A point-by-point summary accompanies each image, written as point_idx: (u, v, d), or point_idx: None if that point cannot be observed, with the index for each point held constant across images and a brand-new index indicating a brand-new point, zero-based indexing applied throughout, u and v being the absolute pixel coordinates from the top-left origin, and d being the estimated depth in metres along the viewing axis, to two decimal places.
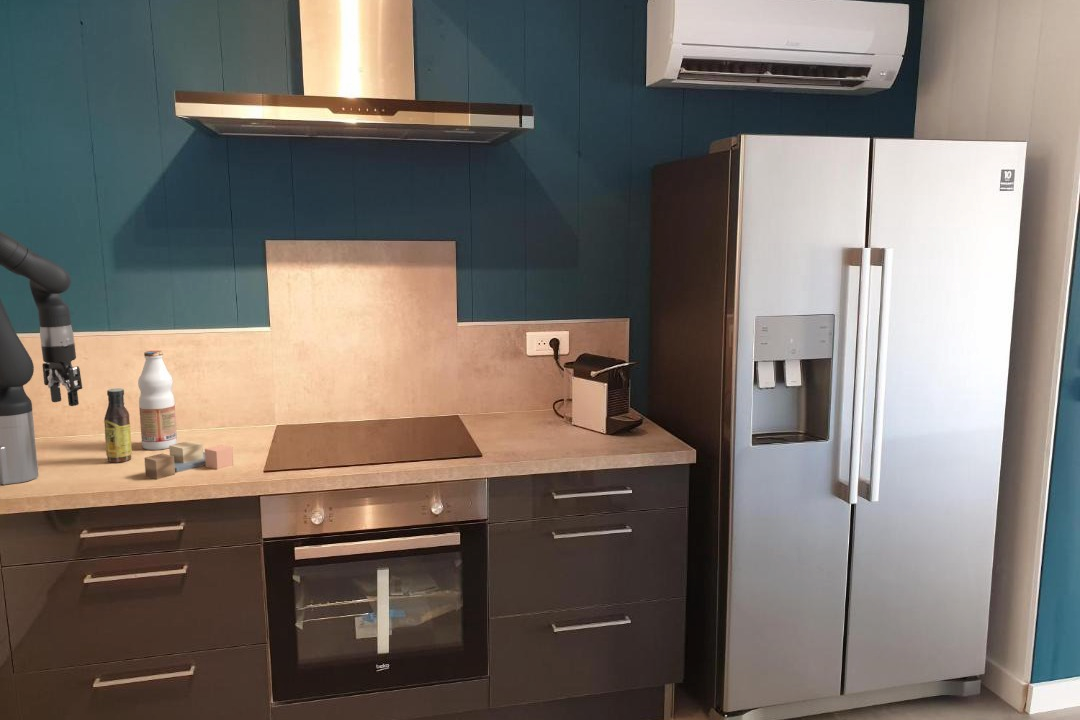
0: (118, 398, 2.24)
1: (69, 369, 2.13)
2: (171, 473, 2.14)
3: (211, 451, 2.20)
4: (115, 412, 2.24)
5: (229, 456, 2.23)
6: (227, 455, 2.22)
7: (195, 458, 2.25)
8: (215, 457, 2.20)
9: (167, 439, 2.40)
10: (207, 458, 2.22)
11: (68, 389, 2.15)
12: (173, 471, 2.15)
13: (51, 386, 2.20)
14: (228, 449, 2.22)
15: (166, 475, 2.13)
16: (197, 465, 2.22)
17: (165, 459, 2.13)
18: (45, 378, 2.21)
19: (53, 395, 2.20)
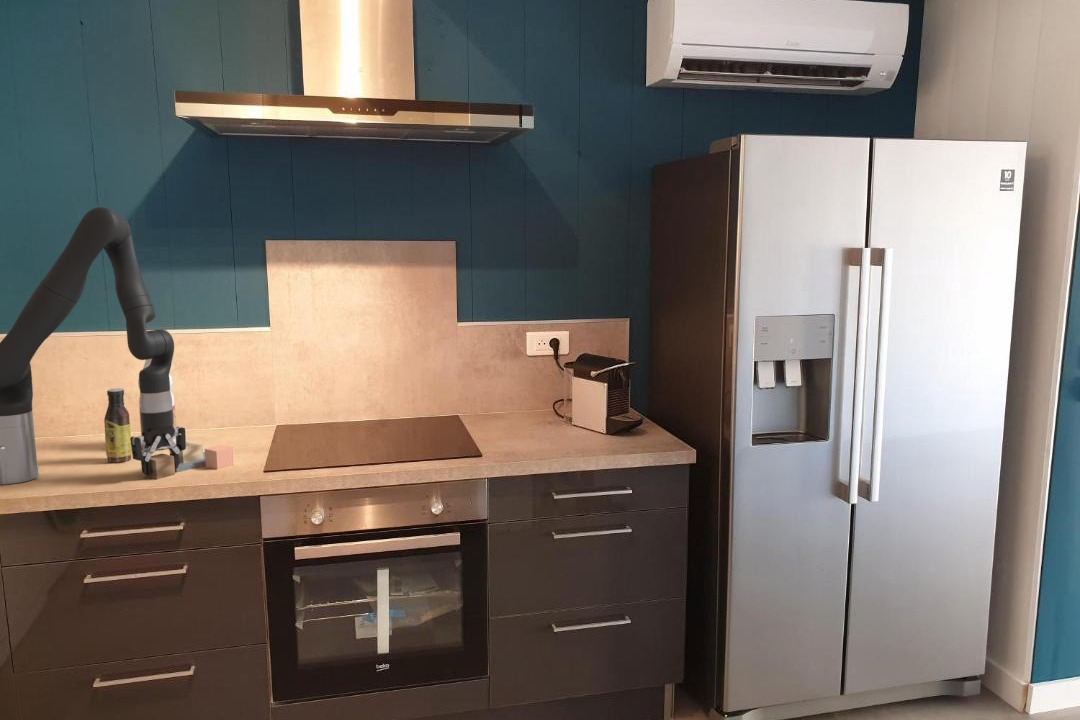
0: (118, 398, 2.24)
1: (184, 429, 2.18)
2: (171, 473, 2.14)
3: (211, 451, 2.20)
4: (115, 412, 2.24)
5: (229, 456, 2.23)
6: (227, 455, 2.22)
7: (195, 458, 2.25)
8: (215, 457, 2.20)
9: None
10: (207, 458, 2.22)
11: (178, 450, 2.17)
12: (173, 471, 2.15)
13: None
14: (228, 449, 2.22)
15: (166, 475, 2.13)
16: (197, 465, 2.22)
17: (165, 459, 2.13)
18: (140, 453, 2.08)
19: None
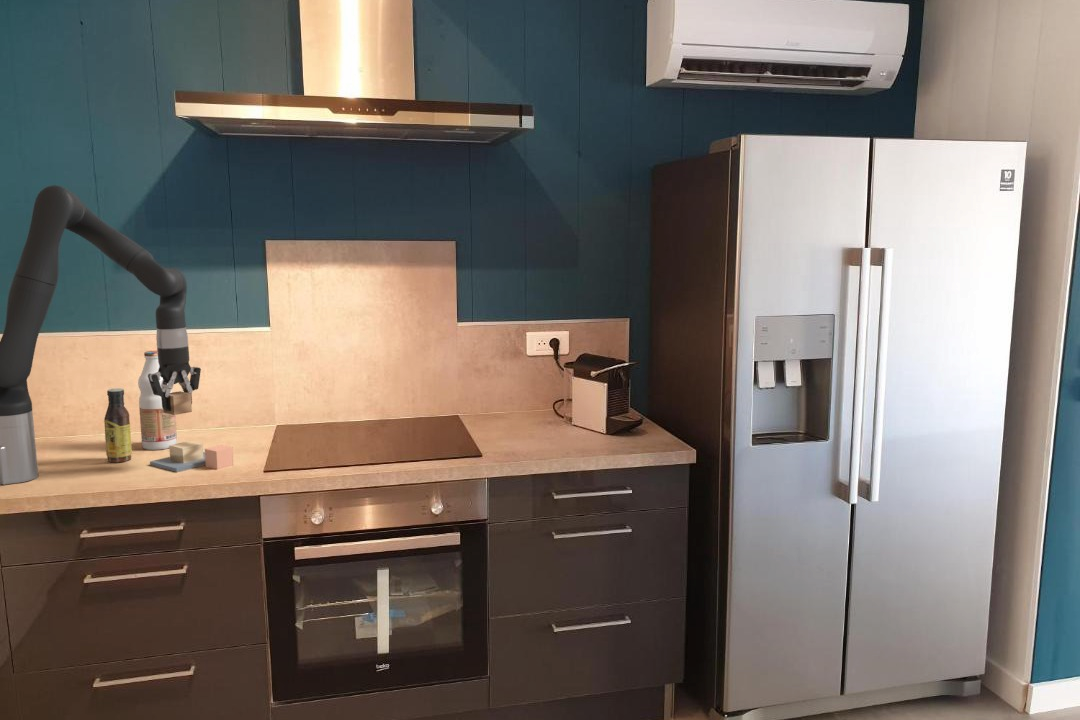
0: (118, 398, 2.24)
1: (199, 369, 2.23)
2: (188, 410, 2.20)
3: (211, 451, 2.20)
4: (115, 412, 2.24)
5: (229, 456, 2.23)
6: (227, 455, 2.22)
7: (195, 458, 2.25)
8: (215, 457, 2.20)
9: (167, 439, 2.40)
10: (207, 458, 2.22)
11: (191, 390, 2.22)
12: (190, 408, 2.20)
13: None
14: (228, 449, 2.22)
15: (183, 412, 2.19)
16: (197, 465, 2.22)
17: (182, 395, 2.18)
18: (159, 388, 2.14)
19: None
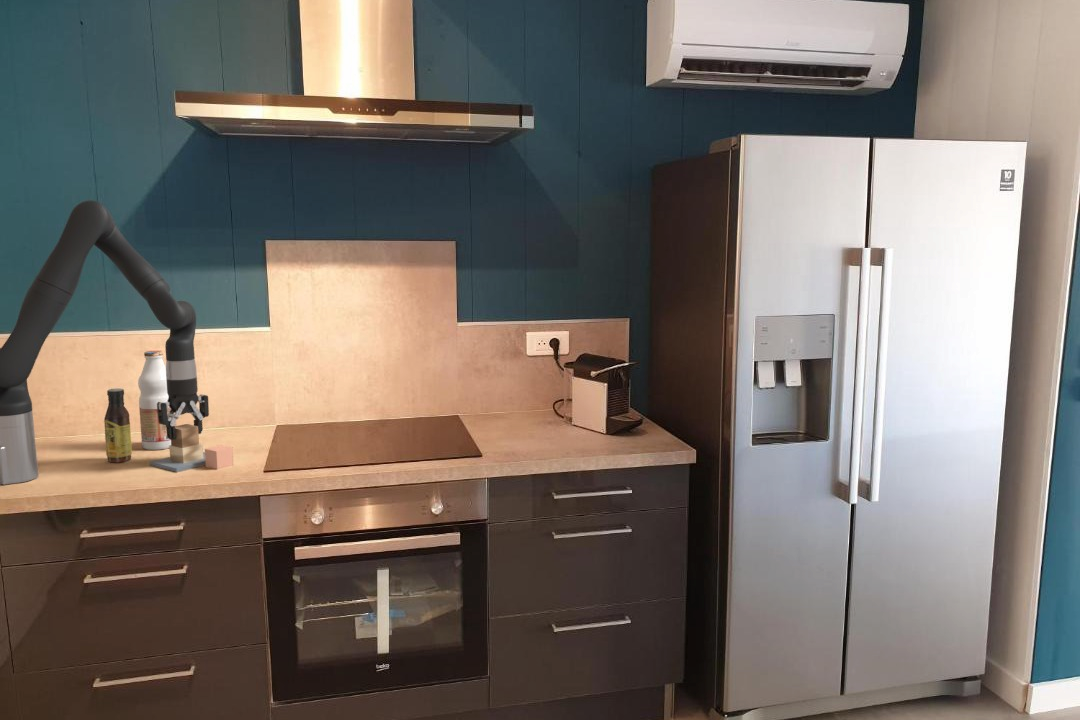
0: (118, 398, 2.24)
1: (207, 396, 2.28)
2: (196, 442, 2.25)
3: (211, 451, 2.20)
4: (115, 412, 2.24)
5: (229, 456, 2.23)
6: (227, 455, 2.22)
7: (195, 458, 2.25)
8: (215, 457, 2.20)
9: (167, 439, 2.40)
10: (207, 458, 2.22)
11: (201, 417, 2.28)
12: (197, 440, 2.26)
13: None
14: (228, 449, 2.22)
15: (191, 444, 2.24)
16: (197, 465, 2.22)
17: (190, 429, 2.23)
18: (166, 417, 2.19)
19: None
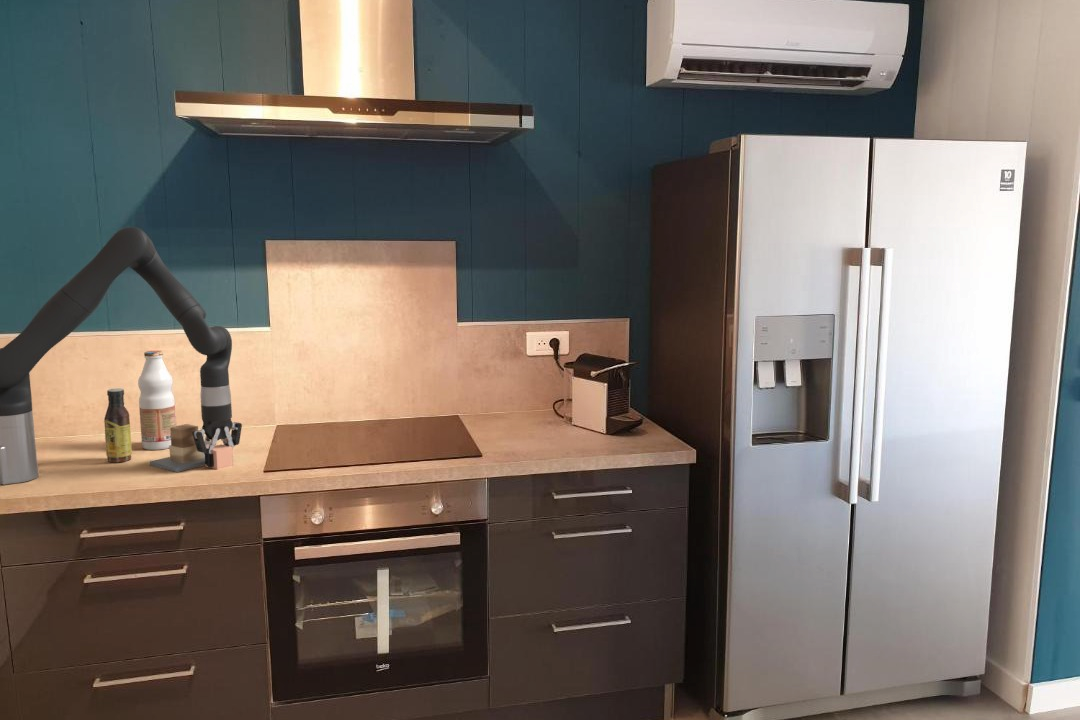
0: (118, 398, 2.24)
1: (240, 424, 2.27)
2: None
3: None
4: (115, 412, 2.24)
5: (229, 456, 2.23)
6: (227, 455, 2.22)
7: (195, 458, 2.25)
8: (215, 457, 2.20)
9: (167, 439, 2.40)
10: None
11: (232, 445, 2.25)
12: None
13: None
14: (228, 449, 2.22)
15: (191, 444, 2.24)
16: (197, 465, 2.22)
17: (190, 429, 2.23)
18: (204, 445, 2.17)
19: None
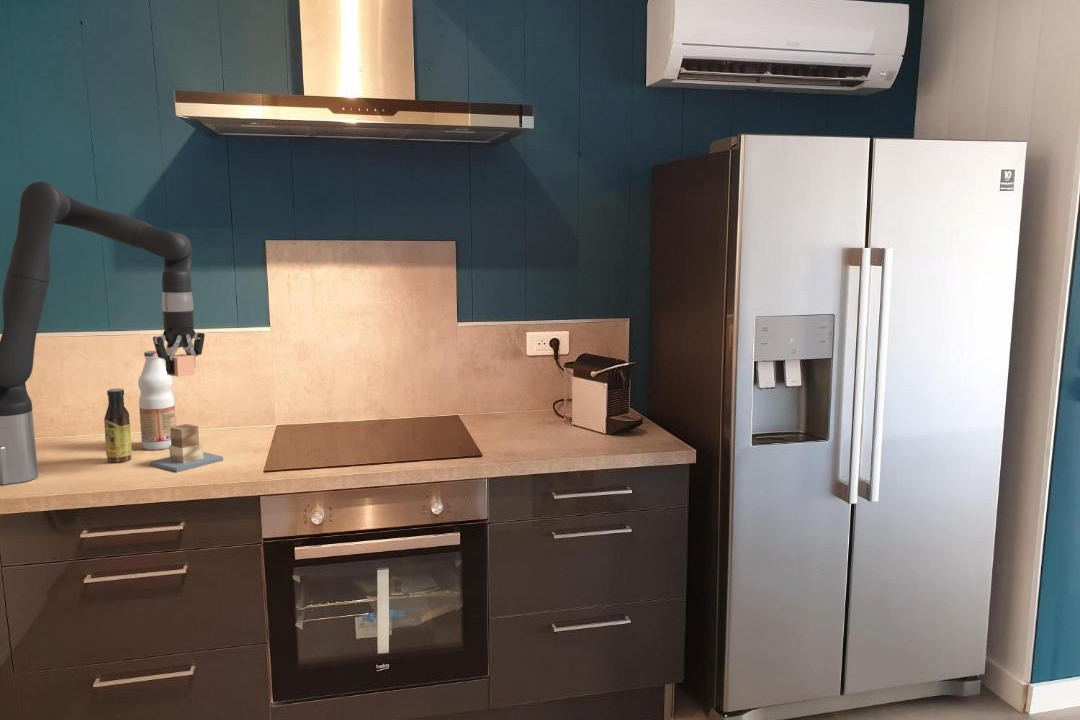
0: (118, 398, 2.24)
1: (203, 334, 2.25)
2: (196, 442, 2.25)
3: None
4: (115, 412, 2.24)
5: (190, 364, 2.21)
6: (188, 363, 2.21)
7: (195, 458, 2.25)
8: (176, 364, 2.18)
9: (167, 439, 2.40)
10: None
11: (194, 355, 2.24)
12: (197, 440, 2.26)
13: None
14: (189, 357, 2.21)
15: (191, 444, 2.24)
16: (197, 465, 2.22)
17: (190, 429, 2.23)
18: (164, 351, 2.16)
19: None
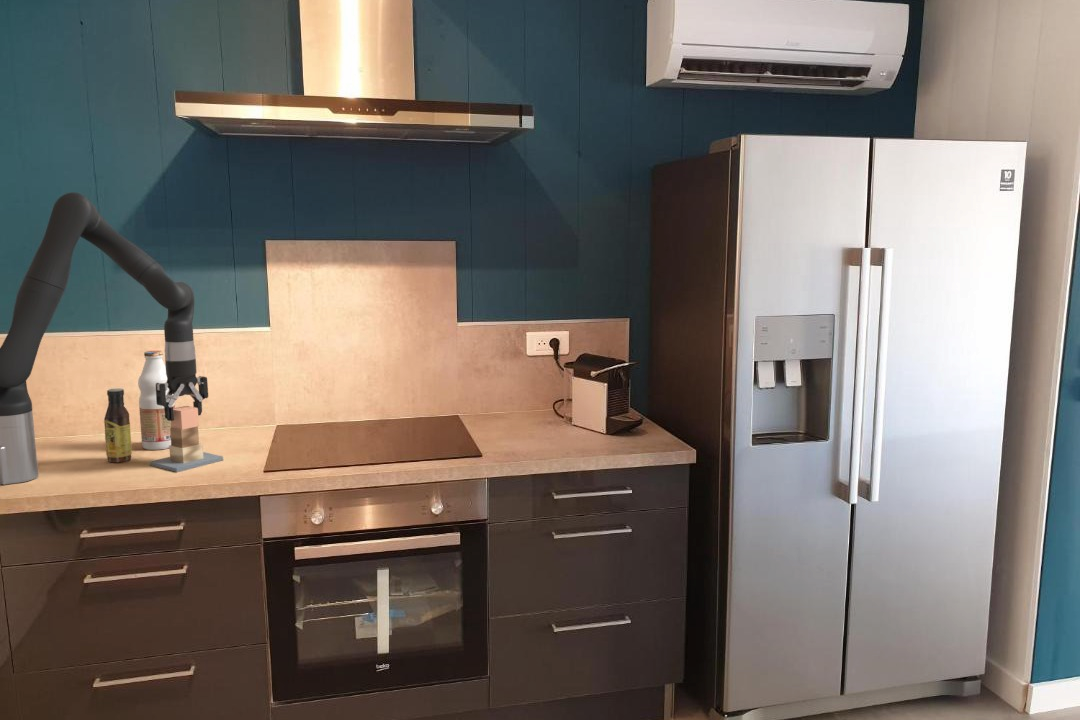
0: (118, 398, 2.24)
1: (206, 378, 2.28)
2: (196, 442, 2.25)
3: (176, 411, 2.22)
4: (115, 412, 2.24)
5: (194, 417, 2.24)
6: (192, 416, 2.24)
7: (195, 458, 2.25)
8: (180, 417, 2.21)
9: (167, 439, 2.40)
10: None
11: (201, 398, 2.27)
12: (197, 440, 2.26)
13: None
14: (193, 409, 2.24)
15: (191, 444, 2.24)
16: (197, 465, 2.22)
17: (190, 429, 2.23)
18: (164, 398, 2.18)
19: None
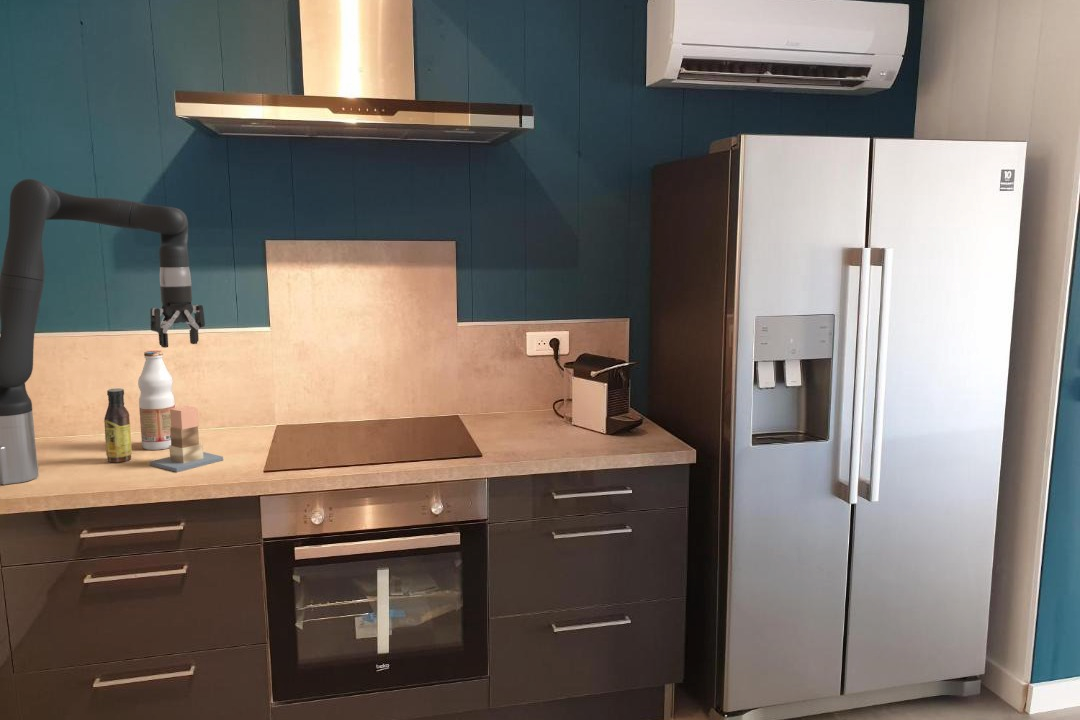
0: (118, 398, 2.24)
1: (201, 306, 2.25)
2: (196, 442, 2.25)
3: (176, 411, 2.22)
4: (115, 412, 2.24)
5: (194, 417, 2.24)
6: (192, 416, 2.24)
7: (195, 458, 2.25)
8: (180, 417, 2.21)
9: (167, 439, 2.40)
10: (172, 418, 2.23)
11: (197, 326, 2.24)
12: (197, 440, 2.26)
13: None
14: (193, 409, 2.24)
15: (191, 444, 2.24)
16: (197, 465, 2.22)
17: (190, 429, 2.23)
18: (158, 324, 2.15)
19: None
